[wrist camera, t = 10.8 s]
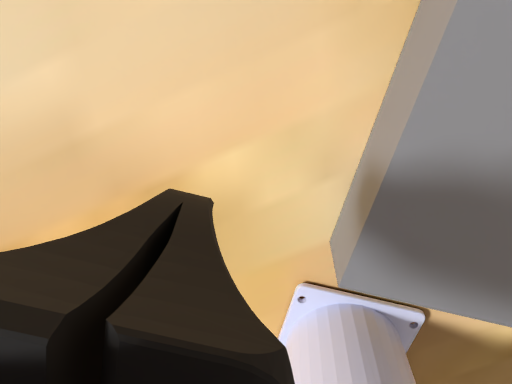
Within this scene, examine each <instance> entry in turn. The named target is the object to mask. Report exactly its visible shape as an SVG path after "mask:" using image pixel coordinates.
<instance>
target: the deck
mask: <svg viewBox="0 0 512 384" xmlns="http://www.w3.org/2000/svg"><path fill="white" fill-rule="evenodd" d="M330 246H331V251H332V256H333V262H334V267H335V272H336V278H337V283H338V287H339V288H344V289H348V290H352V291H357V292H361V293H365V294H370V295H374V296H378V297H382V298H387V299H391V300H395V301H400V302H404V303H408V304H413V305H417V306H421V307H426V308H430V309H434V310H439V311H443V312H447V313H452V314H456V315H460V316H465V317H469V318H473V319H478V320H482V321H486V322H491V323H495V324H499V325H504V326H508V327H512V0H421V2H420V4H419V7H418V9H417V12H416V15H415V17H414V20H413V23H412V25H411V28H410V31H409V33H408V36H407V39H406V41H405V44H404V46H403V49H402V52H401V54H400V57H399V60H398V62H397V65H396V68H395V70H394V73H393V76H392V78H391V81H390V83H389V86H388V89H387V91H386V94H385V97H384V99H383V102H382V105H381V107H380V110H379V113H378V115H377V118H376V120H375V123H374V126H373V128H372V131H371V134H370V136H369V139H368V142H367V144H366V147H365V150H364V152H363V155H362V157H361V160H360V163H359V165H358V168H357V171H356V173H355V176H354V179H353V181H352V184H351V187H350V189H349V192H348V194H347V197H346V200H345V202H344V205H343V208H342V210H341V213H340V216H339V218H338V221H337V224H336V226H335V229H334V231H333V234H332V237H331V239H330Z"/></svg>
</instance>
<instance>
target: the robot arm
mask: <svg viewBox="0 0 512 384" xmlns="http://www.w3.org/2000/svg"><path fill="white" fill-rule="evenodd" d="M213 204H214V203H213V201H212V199H211V198H207V197H203V196H199V195H195V194H190V193H186V192H182V191H178V190H174V189H168V190H166V191H164V192H162V193H161V194H159V195H157V196H155V197H154V198H152V199H150V200H149V201H147V202H145V203H143V204H142V205H140V206H138V207H136V208H134V209H132V210H130V211H129V212H127V213H124V214H122V215H120V216H118V217H116V218H114V219H112V220H110V221H107V222H105V223H103V224H101V225H98V226H96V227H93V228H91V229H88V230H85V231H82V232H79V233H76V234H74V235H71V236H67V237H64V238H60V239H57V240H53V241H49V242H45V243H41V244H38V245H34V246H30V247H25V248H20V249H15V250H10V251H5V252H0V384H416V382H415V379H414V376H413V373H412V370H411V367H410V365H409V362H408V359H407V356H406V353H407V351H408V349H409V347H410V346H411V344H412V342H413V340H414V339H415V337H416V335H417V333H418V332H419V330H420V328H421V326H422V325H423V323H424V321H425V315H424V313H423V311H422V310H420V309H416V308H412V307H408V306H403V305H399V304H395V303H390V302H386V301H382V300H377V299H373V298H369V297H364V296H360V295H356V294H351V293H347V292H343V291H338V290H334V289H330V288H325V287H321V286H317V285H312V284H308V283H301V284H299V285H297V287H296V289H295V292H294V295H293V298H292V300H291V303H290V306H289V309H288V312H287V314H286V317H285V320H284V323H283V326H282V329H281V331H280V334H279V337H278V339H277V338H276V337H275V336H274V335H273V333H272V332H271V331H270V330H269V329H268V328H267V327H266V326H265V325H264V324H263V323H262V322H261V321H260V320H259V319H258V317H257V316H256V315H255V314H254V312H253V311H252V310H251V309H250V307H249V306H248V304H247V303H246V301H245V300H244V298H243V297H242V295H241V294H240V292H239V291H238V289H237V287H236V285H235V283H234V282H233V280H232V278H231V276H230V274H229V272H228V269H227V267H226V265H225V263H224V260H223V257H222V255H221V252H220V249H219V246H218V242H217V238H216V234H215V229H214V224H213V216H212V209H213ZM300 296H304V297H305V298H303V299H300V298H299V297H300ZM412 322H415V323H413V324H410V323H412Z"/></svg>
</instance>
